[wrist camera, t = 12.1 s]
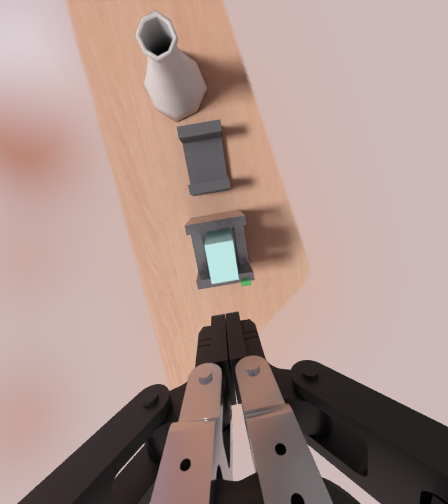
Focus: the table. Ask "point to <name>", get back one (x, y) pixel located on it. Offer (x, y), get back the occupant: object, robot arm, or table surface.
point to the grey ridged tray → (204, 157)
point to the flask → (169, 69)
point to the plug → (221, 256)
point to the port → (236, 228)
